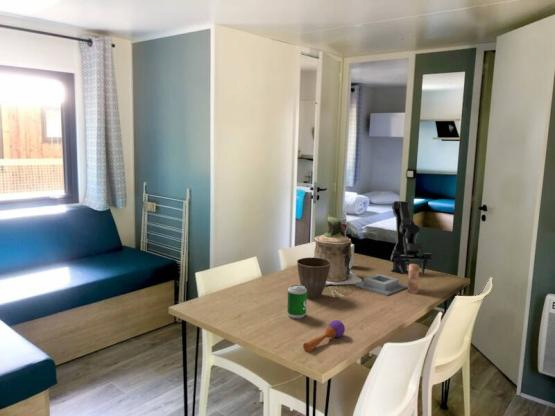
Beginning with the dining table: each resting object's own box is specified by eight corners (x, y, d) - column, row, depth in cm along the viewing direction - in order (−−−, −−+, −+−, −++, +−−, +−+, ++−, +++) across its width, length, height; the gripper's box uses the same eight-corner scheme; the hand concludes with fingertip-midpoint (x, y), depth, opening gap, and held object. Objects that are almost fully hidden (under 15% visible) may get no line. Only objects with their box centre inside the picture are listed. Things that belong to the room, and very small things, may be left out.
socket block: (354, 286, 220) (355, 278, 219) (375, 278, 232) (376, 271, 231) (386, 295, 207) (387, 287, 206) (407, 287, 219) (407, 279, 219)
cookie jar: (316, 287, 218) (318, 221, 213) (301, 272, 241) (303, 212, 236) (364, 284, 223) (367, 220, 219) (345, 269, 247) (347, 212, 242)
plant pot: (335, 296, 205) (337, 262, 202) (315, 304, 194) (316, 268, 192) (310, 288, 215) (311, 255, 213) (289, 296, 204) (290, 261, 202)
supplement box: (337, 267, 251) (338, 245, 249) (340, 264, 258) (341, 242, 256) (350, 269, 248) (351, 246, 246) (353, 265, 255) (354, 243, 253)
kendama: (298, 337, 153) (333, 317, 167) (301, 354, 153) (335, 332, 168) (312, 340, 149) (346, 318, 163) (315, 357, 149) (349, 334, 164)
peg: (405, 291, 213) (407, 265, 211) (410, 289, 216) (412, 263, 214) (414, 294, 210) (416, 267, 208) (419, 292, 213) (421, 265, 211)
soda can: (300, 321, 176) (301, 291, 175) (283, 316, 180) (284, 287, 179) (309, 314, 183) (310, 286, 181) (293, 310, 187) (293, 282, 185)
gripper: (393, 235, 216) (395, 264, 207) (433, 236, 215) (437, 265, 205) (389, 247, 225) (391, 275, 216) (427, 249, 224) (432, 277, 214)
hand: (413, 273), depth 213 cm, fingers open, 9 cm apart
